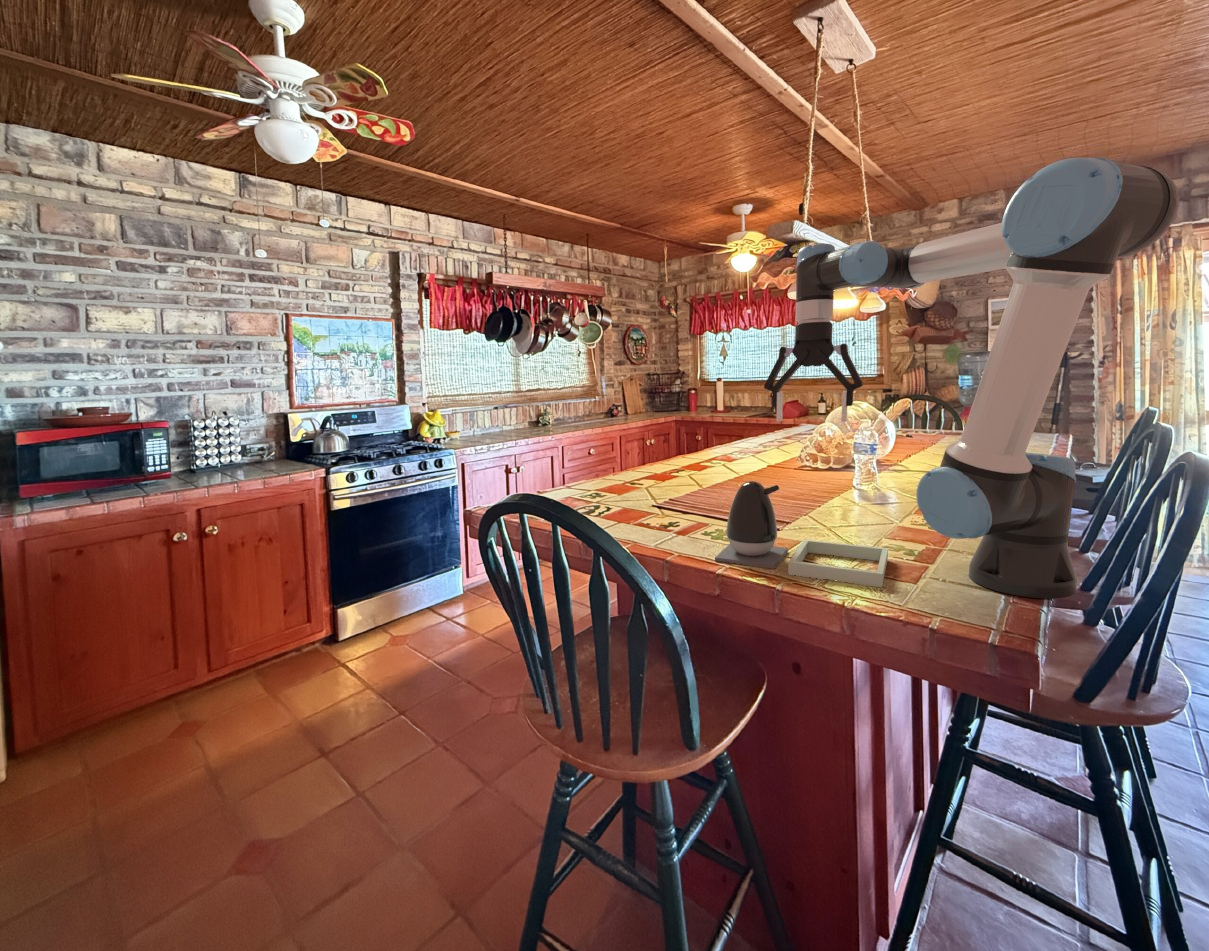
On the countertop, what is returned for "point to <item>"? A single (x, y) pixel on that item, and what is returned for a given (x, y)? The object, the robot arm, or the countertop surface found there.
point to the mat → (753, 557)
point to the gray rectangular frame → (836, 572)
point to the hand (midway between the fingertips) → (810, 421)
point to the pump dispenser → (752, 520)
